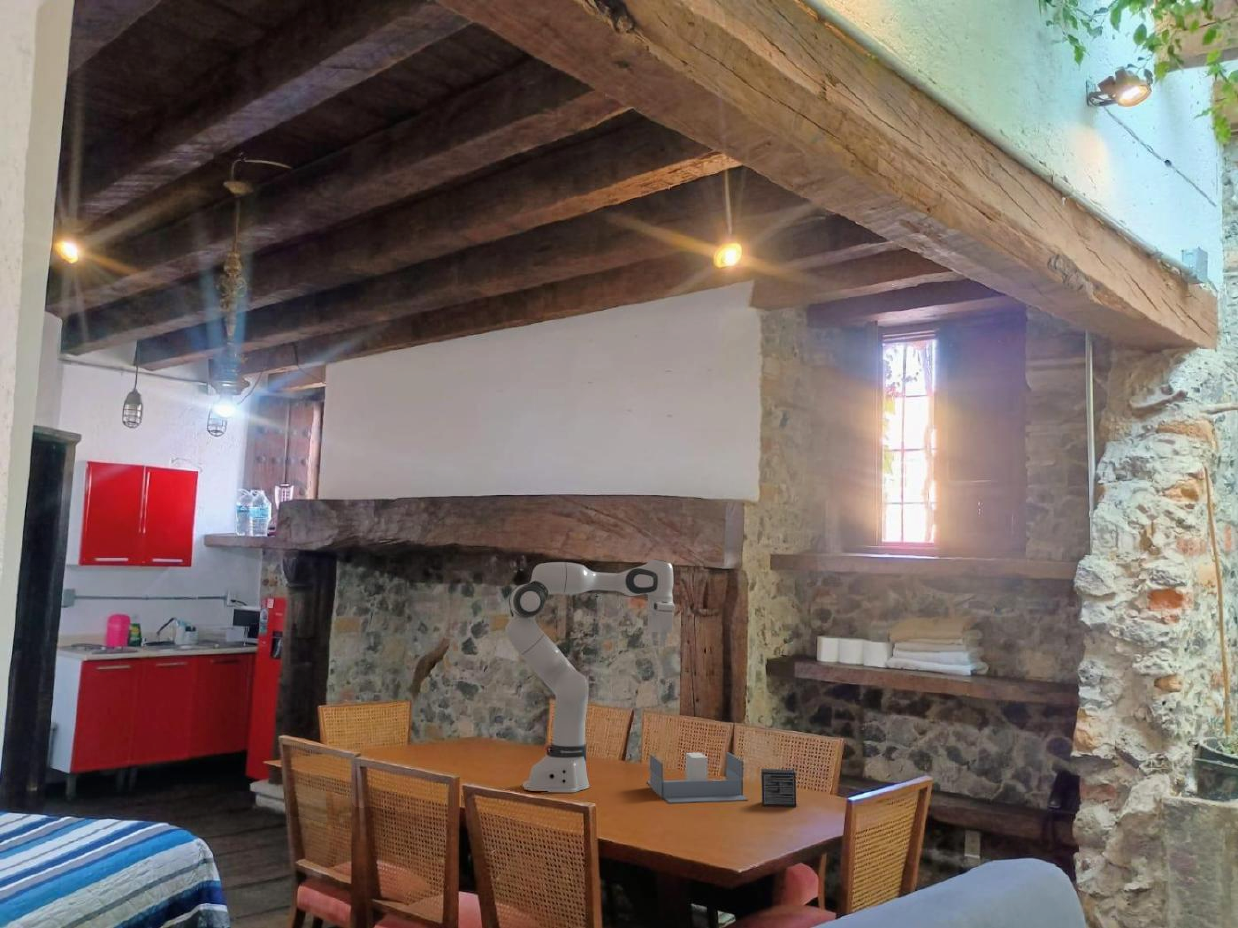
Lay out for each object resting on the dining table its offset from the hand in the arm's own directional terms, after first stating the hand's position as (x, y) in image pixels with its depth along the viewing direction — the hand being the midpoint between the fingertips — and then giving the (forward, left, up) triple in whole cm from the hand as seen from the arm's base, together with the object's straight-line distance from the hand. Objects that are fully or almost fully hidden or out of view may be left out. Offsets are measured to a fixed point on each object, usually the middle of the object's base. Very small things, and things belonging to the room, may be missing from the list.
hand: (658, 645), depth 337 cm
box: (+10, -14, -47) cm, 50 cm away
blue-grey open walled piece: (+10, -13, -47) cm, 50 cm away
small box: (+31, -35, -47) cm, 66 cm away
